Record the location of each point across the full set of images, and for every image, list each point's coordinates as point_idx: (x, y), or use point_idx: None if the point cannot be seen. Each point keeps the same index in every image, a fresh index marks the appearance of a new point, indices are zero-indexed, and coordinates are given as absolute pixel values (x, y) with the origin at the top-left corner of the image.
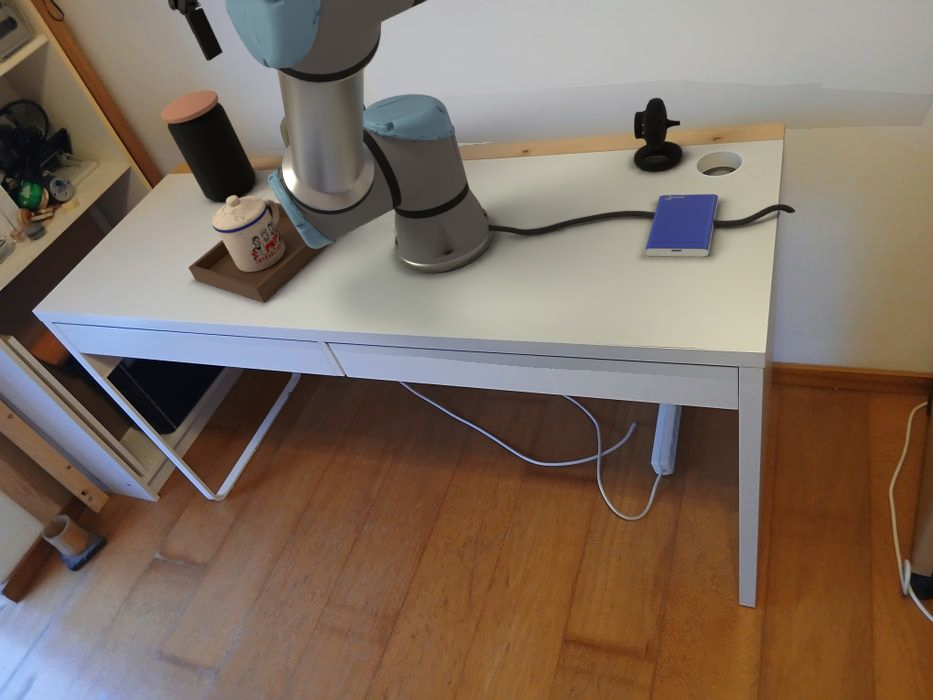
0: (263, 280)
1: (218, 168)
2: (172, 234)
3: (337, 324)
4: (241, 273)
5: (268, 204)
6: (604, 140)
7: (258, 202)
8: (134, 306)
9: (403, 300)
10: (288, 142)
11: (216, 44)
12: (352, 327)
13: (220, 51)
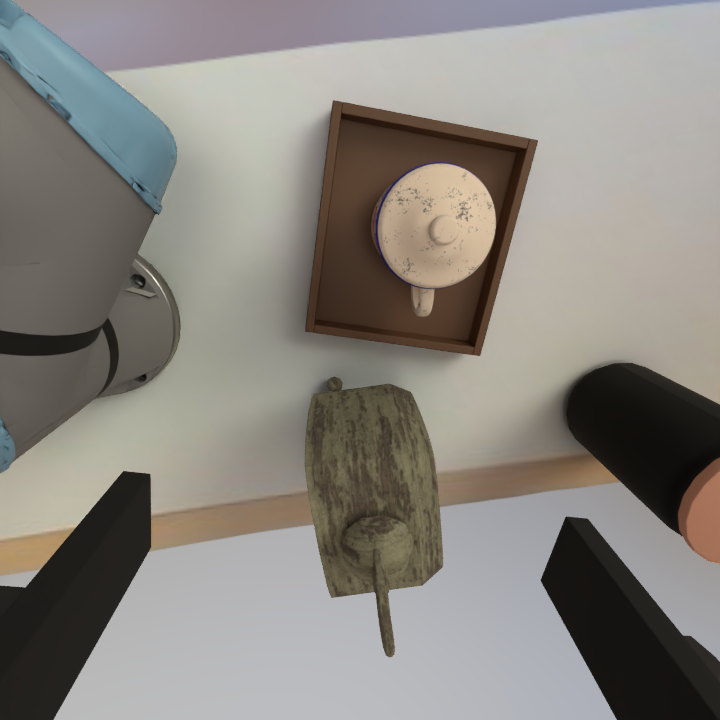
0: (336, 129)
1: (622, 400)
2: (663, 267)
3: (146, 79)
4: None
5: (476, 347)
6: (25, 561)
7: (401, 261)
8: (621, 43)
9: None
10: (406, 423)
11: (565, 607)
12: (113, 77)
13: (547, 579)
